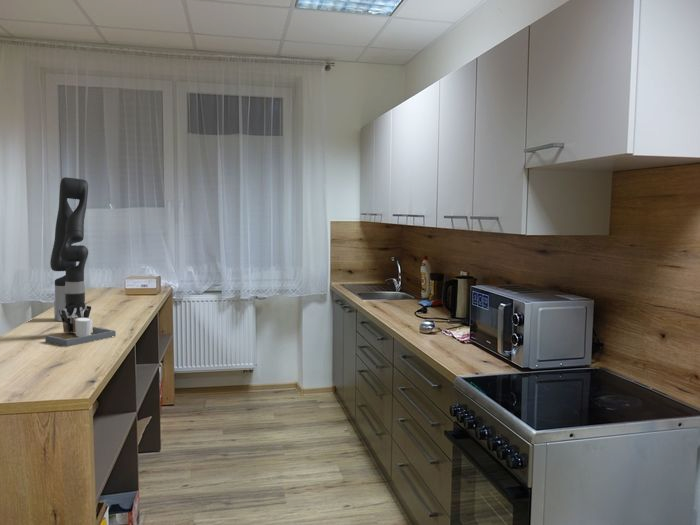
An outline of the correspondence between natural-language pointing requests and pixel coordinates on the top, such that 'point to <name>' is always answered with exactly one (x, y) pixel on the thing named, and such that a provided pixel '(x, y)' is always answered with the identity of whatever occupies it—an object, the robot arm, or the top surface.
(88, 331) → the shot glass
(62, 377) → the top surface
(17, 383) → the top surface
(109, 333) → the grey u-shaped bracket
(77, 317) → the block
